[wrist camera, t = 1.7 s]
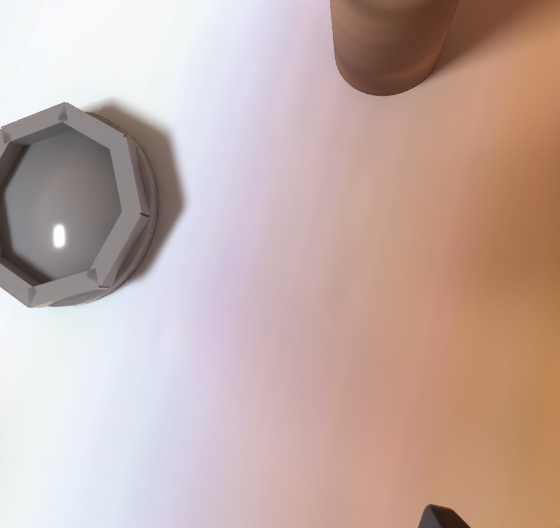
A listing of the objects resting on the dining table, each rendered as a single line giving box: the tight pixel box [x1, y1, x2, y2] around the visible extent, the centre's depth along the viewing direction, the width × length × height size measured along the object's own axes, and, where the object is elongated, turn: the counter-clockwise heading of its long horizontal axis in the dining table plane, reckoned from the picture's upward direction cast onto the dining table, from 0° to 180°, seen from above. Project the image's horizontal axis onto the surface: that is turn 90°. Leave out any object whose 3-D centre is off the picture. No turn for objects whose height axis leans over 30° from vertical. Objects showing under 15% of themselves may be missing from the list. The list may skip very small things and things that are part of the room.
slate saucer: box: [0, 102, 158, 308], centre depth 20 cm, size 11×11×2 cm
